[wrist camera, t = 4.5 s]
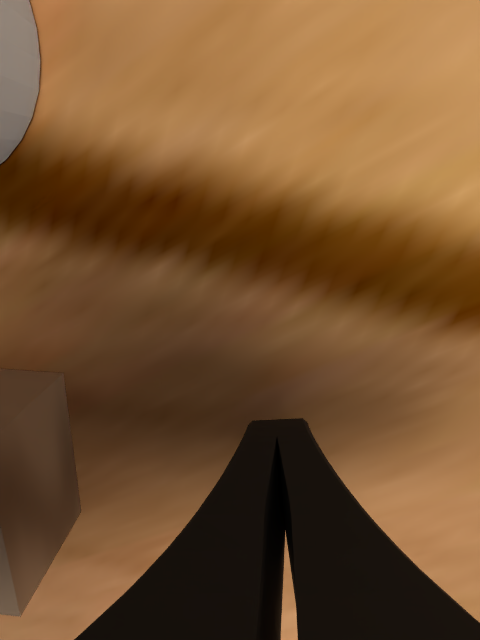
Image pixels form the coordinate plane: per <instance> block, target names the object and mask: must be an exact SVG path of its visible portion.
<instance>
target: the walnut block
mask: <svg viewBox="0 0 480 640" xmlns="http://www.w3.org/2000/svg"><path fill="white" fill-rule="evenodd" d="M80 513H81V506H80V498H79V490H78V483H77V475H76V467H75V459H74V451H73V443H72V435H71V428H70V420H69V412H68V404H67V396H66V388H65V381H64V373H57V372H42V371H28V370H13V369H0V614H1V615H11V616H20V617H21V615H22V613H23V611H24V610H25V608H26V606H27V605H28V603H29V601H30V599H31V598H32V596H33V594H34V592H35V591H36V589H37V587H38V585H39V584H40V582H41V580H42V579H43V577H44V575H45V573H46V572H47V570H48V568H49V566H50V565H51V563H52V561H53V560H54V558H55V556H56V554H57V553H58V551H59V549H60V547H61V546H62V544H63V542H64V540H65V539H66V537H67V535H68V534H69V532H70V530H71V528H72V527H73V525H74V523H75V521H76V520H77V518H78V516H79V514H80Z"/></svg>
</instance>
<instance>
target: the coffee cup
mask: <svg viewBox="0 0 480 640" xmlns="http://www.w3.org/2000/svg"><path fill="white" fill-rule="evenodd" d="M39 79H40V53H39V43H38V34H37V28H36V24H35V20H34V17H33V13H32V9H31V5H30V2H29V0H0V164H1V163H2V162H3V161H5V160H6V159H7V158H8V157H9V155H10V154H11V153H12V151H13V150H14V149H15V148H16V146H17V145H18V144H19V142H20V141H21V140H22V138H23V136H24V134H25V132H26V129H27V127H28V125H29V123H30V121H31V119H32V117H33V113H34V108H35V104H36V100H37V96H38V92H39Z"/></svg>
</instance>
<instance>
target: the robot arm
mask: <svg viewBox="0 0 480 640" xmlns="http://www.w3.org/2000/svg"><path fill="white" fill-rule="evenodd" d="M285 530H286V537H287V544H288V551H289V558H290V565H291V572H292V579H293V586H294V593H295V600H296V610H297V629H298V640H480V623H479V622H478V621H477V620H476V619H474V618H473V617H472V616H471V615H470V614H469V613H468V612H467V611H466V610H465V609H463V608H462V607H461V606H460V605H459V604H458V603H457V602H456V601H455V600H453V599H452V598H451V597H450V596H449V595H448V594H447V593H446V592H445V591H443V590H442V589H441V588H440V587H439V586H438V585H437V584H436V583H435V582H433V581H432V580H431V579H430V578H429V577H428V576H427V575H426V574H425V573H424V572H422V571H421V570H420V569H419V568H418V567H417V566H416V565H415V564H414V563H413V562H412V561H411V560H410V559H409V558H408V557H407V556H406V555H405V554H404V553H403V552H402V551H401V550H400V549H399V548H398V547H397V546H396V545H395V543H394V542H393V541H392V540H391V539H390V538H389V537H388V536H387V535H386V534H385V533H384V532H383V531H382V529H381V528H380V527H379V526H378V525H377V524H376V523H375V522H374V520H373V519H372V518H371V517H370V516H369V515H368V513H367V512H366V511H365V510H364V509H363V508H362V506H361V505H360V504H359V503H358V501H357V500H356V499H355V498H354V496H353V495H352V494H351V492H350V491H349V490H348V489H347V487H346V486H345V485H344V483H343V482H342V481H341V479H340V478H339V476H338V475H337V473H336V472H335V470H334V469H333V468H332V466H331V465H330V463H329V462H328V460H327V459H326V457H325V456H324V454H323V452H322V451H321V449H320V447H319V446H318V444H317V442H316V440H315V439H314V437H313V435H312V433H311V431H310V428H309V426H308V423H307V422H306V421H305V420H304V419H303V418H299V419H279V420H259V421H252V422H251V423H250V424H249V425H248V427H247V430H246V432H245V434H244V436H243V438H242V440H241V442H240V444H239V446H238V448H237V450H236V452H235V454H234V456H233V457H232V459H231V461H230V462H229V464H228V466H227V467H226V469H225V471H224V472H223V474H222V476H221V477H220V479H219V481H218V482H217V484H216V485H215V487H214V488H213V490H212V491H211V492H210V494H209V495H208V497H207V498H206V500H205V501H204V503H203V504H202V505H201V507H200V508H199V510H198V511H197V512H196V514H195V515H194V516H193V518H192V519H191V520H190V522H189V523H188V524H187V525H186V527H185V528H184V529H183V530H182V531H181V533H180V534H179V535H178V536H177V537H176V539H175V540H174V541H173V542H172V543H171V545H170V546H169V547H168V548H167V549H166V550H165V551H164V552H163V554H162V555H161V556H160V557H159V558H158V559H157V560H156V561H155V562H154V563H153V564H152V566H151V567H150V568H149V569H148V570H147V571H146V572H145V573H144V574H143V575H142V576H141V577H140V578H139V579H138V580H137V581H136V582H135V583H134V585H133V586H132V587H131V588H130V589H128V590H127V591H126V592H125V593H124V594H123V595H122V596H121V597H120V598H119V599H118V600H117V601H116V602H115V603H114V604H113V605H111V606H110V607H109V608H108V609H107V610H106V611H105V612H104V613H103V614H102V615H101V616H100V617H99V618H97V619H96V620H95V621H94V622H93V623H92V624H91V625H90V626H89V627H88V628H87V629H86V630H84V631H83V632H82V633H81V634H80V635H79V636H78V637H77V638H75V639H74V640H281V613H282V591H283V570H284V547H285Z"/></svg>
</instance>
